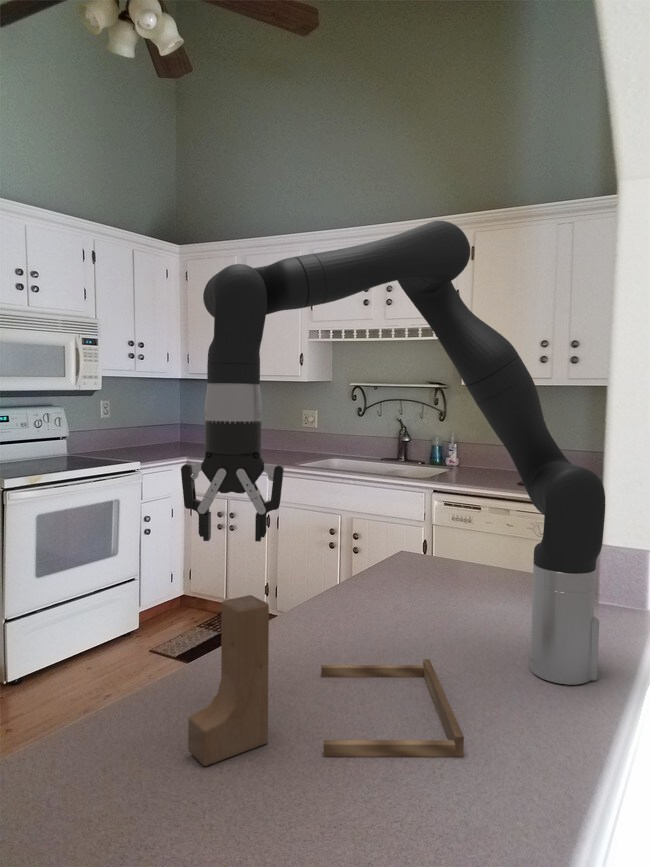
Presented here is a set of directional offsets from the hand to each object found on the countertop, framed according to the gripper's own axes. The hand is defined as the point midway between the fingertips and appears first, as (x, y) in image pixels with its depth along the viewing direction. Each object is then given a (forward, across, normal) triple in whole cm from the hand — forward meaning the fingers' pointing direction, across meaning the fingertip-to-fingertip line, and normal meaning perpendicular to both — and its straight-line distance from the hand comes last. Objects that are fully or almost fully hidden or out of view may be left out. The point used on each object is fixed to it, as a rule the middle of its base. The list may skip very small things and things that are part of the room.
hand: (232, 539), depth 88 cm
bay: (+24, -21, 0) cm, 31 cm away
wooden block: (+24, -1, +10) cm, 26 cm away
